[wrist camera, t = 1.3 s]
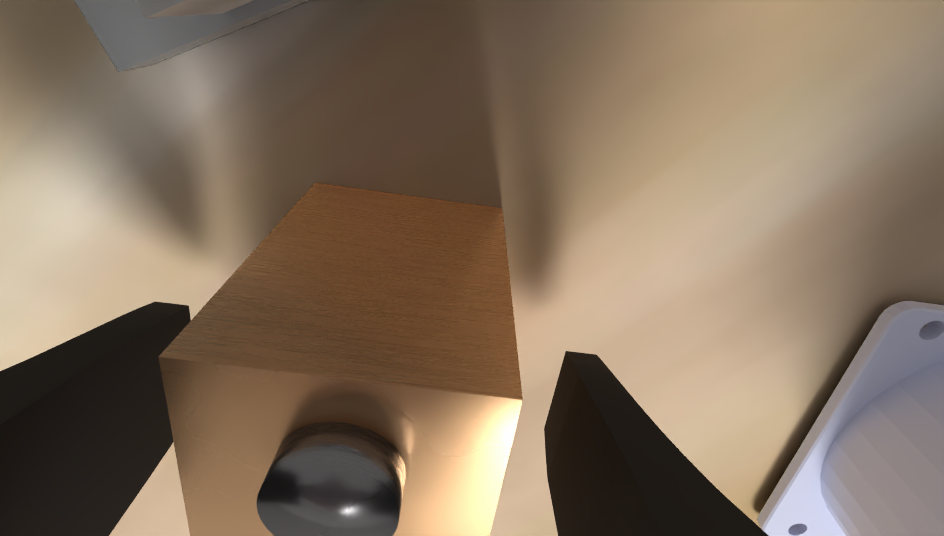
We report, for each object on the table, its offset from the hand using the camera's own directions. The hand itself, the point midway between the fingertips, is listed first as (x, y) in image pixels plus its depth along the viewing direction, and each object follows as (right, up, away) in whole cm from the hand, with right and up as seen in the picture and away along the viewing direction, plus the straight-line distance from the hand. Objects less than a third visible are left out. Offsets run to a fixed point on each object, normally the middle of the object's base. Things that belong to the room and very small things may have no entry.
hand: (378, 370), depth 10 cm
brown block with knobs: (0, +1, +2) cm, 3 cm away
